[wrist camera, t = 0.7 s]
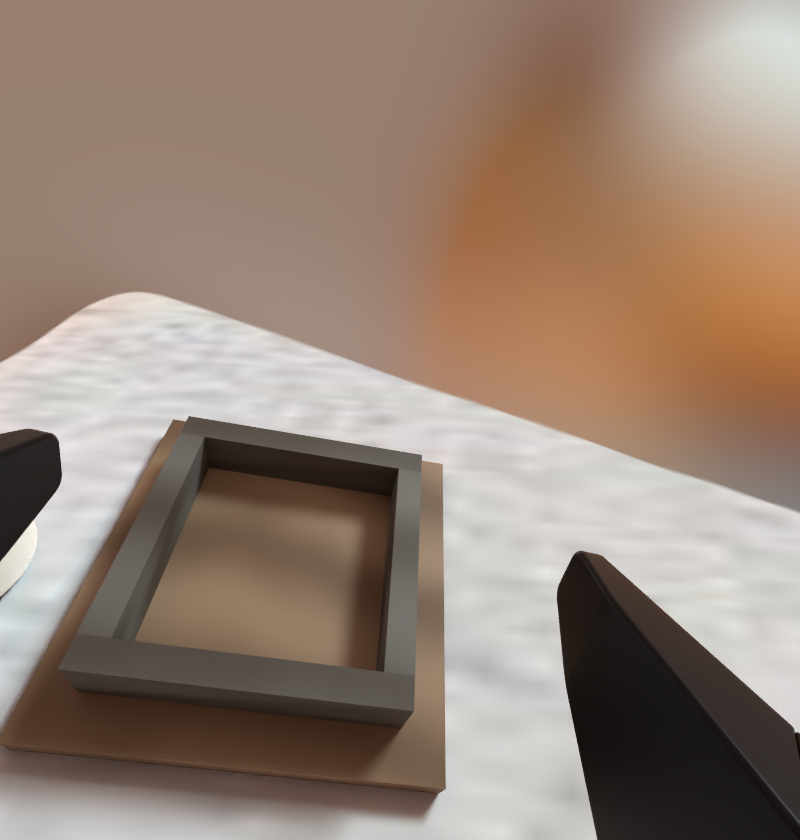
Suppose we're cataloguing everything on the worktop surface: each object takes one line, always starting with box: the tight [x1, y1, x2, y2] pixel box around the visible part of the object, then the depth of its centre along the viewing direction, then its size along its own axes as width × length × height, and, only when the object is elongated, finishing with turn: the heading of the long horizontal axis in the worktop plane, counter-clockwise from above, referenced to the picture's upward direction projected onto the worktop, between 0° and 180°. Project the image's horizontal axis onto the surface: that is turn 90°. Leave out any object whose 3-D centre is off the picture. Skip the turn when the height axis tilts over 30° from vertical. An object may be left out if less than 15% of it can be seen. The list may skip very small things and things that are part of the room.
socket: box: [0, 416, 446, 793], centre depth 23 cm, size 16×16×4 cm
